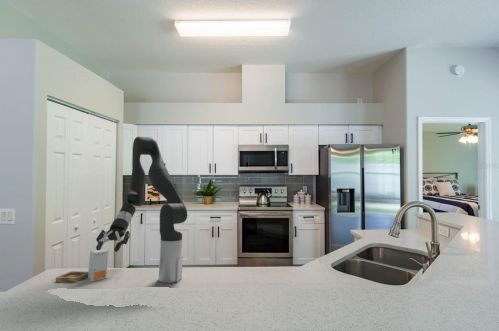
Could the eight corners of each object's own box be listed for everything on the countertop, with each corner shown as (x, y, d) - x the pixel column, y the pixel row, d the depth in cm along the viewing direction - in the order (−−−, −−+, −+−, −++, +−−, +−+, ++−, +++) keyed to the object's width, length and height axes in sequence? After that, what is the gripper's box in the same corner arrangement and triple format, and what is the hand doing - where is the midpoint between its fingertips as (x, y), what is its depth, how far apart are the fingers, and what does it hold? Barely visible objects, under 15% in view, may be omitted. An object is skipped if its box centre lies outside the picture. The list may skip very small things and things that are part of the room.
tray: (90, 276, 120) (90, 272, 121) (76, 282, 111) (76, 278, 112) (71, 275, 121) (71, 271, 121) (55, 281, 112) (55, 277, 112)
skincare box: (91, 282, 113) (94, 252, 114) (87, 279, 116) (89, 251, 117) (106, 278, 118) (108, 250, 119) (102, 276, 120) (104, 249, 122)
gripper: (105, 217, 134) (88, 245, 121) (133, 218, 133) (118, 246, 120) (110, 226, 139) (94, 254, 126) (137, 227, 138) (124, 255, 125)
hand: (106, 250), depth 123 cm, fingers open, 8 cm apart
